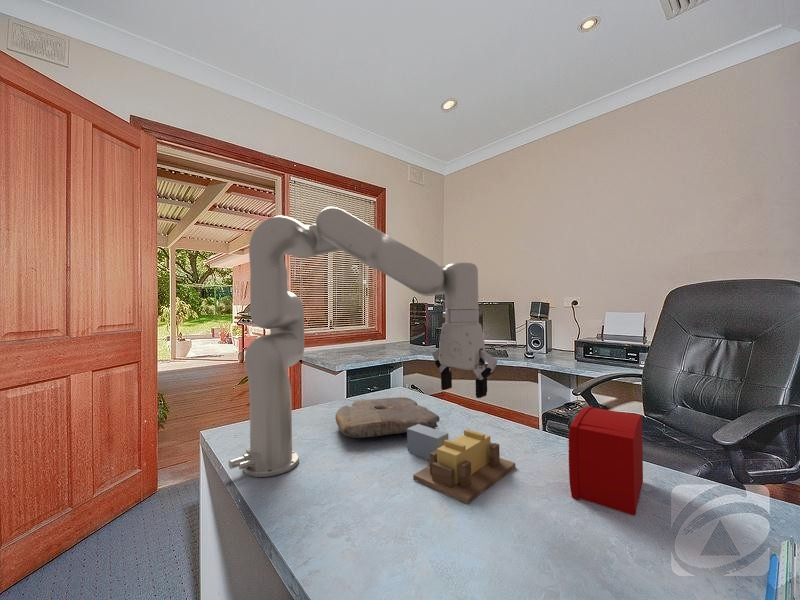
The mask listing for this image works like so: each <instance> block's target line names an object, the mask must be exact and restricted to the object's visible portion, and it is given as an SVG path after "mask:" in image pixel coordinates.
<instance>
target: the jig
mask: <svg viewBox="0 0 800 600" xmlns="http://www.w3.org/2000/svg"><path fill="white" fill-rule="evenodd" d="M490 444H491V445H490V446H489V459H490V462H489V463H488V464H486V465H485V466H483V467H482V468H480V469H479V470H477V471H476V472H474V473H473V474H472V475H471V462H469V461H467V460H466V461H464V462H462V463H461V464H459V478H460V483H458V484H457V485H456V484H454V469H452V468H449V467H447V466H444V465H441V464H439V463H437V450H435V451H433V452H431V453H430V460H429V465H428V466H427V467H425V468H424V467H423V469H421V470H419V471H417V472H416V473H414V474H412V475H413V476H412V477H413V478H412V479H413V480H414V481H417V482H418V483H421V484H423V485H424V486H427V487H430V488H432V489H433V490H436V491H438V492H440V493H443V494H445V495H447V496H449V497H451V498H453V499H456V500H458V501H460V502H461V503H464V504H466V505H468V504H470V503H472V501H474V500H475V499H476V498H478V497H479V496H480V495H482V494H483V493H484V492H485V491H487V490H488V489H489V488H491V487H493V485H494V484H496V483H497V482H498V481H500V480H501V479H502V478H504V477H505V476H506V475H507V474H509V473H510V472H511V471H513V470H514V469H515V468H516V462H514V461H511V460H508V459H504V458H502V457H500V455H501V454H500V444H499V443H498V442H497V443H496V442H490Z"/></svg>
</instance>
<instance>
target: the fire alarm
mask: <svg viewBox="0 0 800 600" xmlns="http://www.w3.org/2000/svg"><path fill="white" fill-rule="evenodd" d="M643 458H644V453H643V415H641V414H635V413H630V412H624V411H617V410H610V409H605V408H598V407H594V406H592V405H591V406H590V405H589V406H585V407H583V408H582V409H581V410H579V411H578V413H577V414H576V416H574V418H573V420H572V423H571V425H570V426H569V431H568V477H569V481H568V482H569V487H570V488H569V489H570V495H571V498H572V499H573V500H577V501H579V499H580V500H582V501H586V502H589V503H593V504H596V505H599V506H602V507H606V508H609V509H612V510H615V511H617V512H621V513H625V514H627V515H632V516H634V517H636V514H637V509H638V505H639V501H640V495H641V491H642V487H643V483H644V464H643V462H644V461H643V460H644V459H643Z"/></svg>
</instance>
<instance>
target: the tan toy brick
mask: <svg viewBox="0 0 800 600" xmlns="http://www.w3.org/2000/svg"><path fill="white" fill-rule="evenodd" d="M490 443H491V435H489V434H486V433H482V432H478V431H475V430H469V429H464V430H463V434H462V435H461V436H459V437H457V438H455V439H453V440H449V439H448V440H447V439H446V440H444V445H443V446H441V447H439V448H437V463H439V464H441V465H444V466H447V467H449V468H452V469H454V484H456V485H457V484H458V483H460V478H459V464H461V463H462V462H464V461H466V460H467V461H469V462H471V475H472V474H473V473H474V472H476V471H477V470H479V469H480V468H482V467H483V466H485V465H486V464H488V463H489V462H490V459H489V446H490V445H491V444H490Z"/></svg>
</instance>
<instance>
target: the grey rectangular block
mask: <svg viewBox="0 0 800 600" xmlns="http://www.w3.org/2000/svg"><path fill="white" fill-rule="evenodd" d="M446 439H447V440H449V433H448V432H446V431H443V430H440V429H436V428H430V427H426V426H423V425H420V424H417V425H415V426H412V427H410V428H407V432H406V443H407V445H406V447H407V448H406V449H407V452H409V451H410V452H409V453H411V452H412V454H414V455H416V454H417V456H419V457H421V456H422V458H424V459H426V458H427V460H428V461H430V453H431V452H433V451H435V450H437V448H439V447H441V446H443V445H444V440H446Z"/></svg>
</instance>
